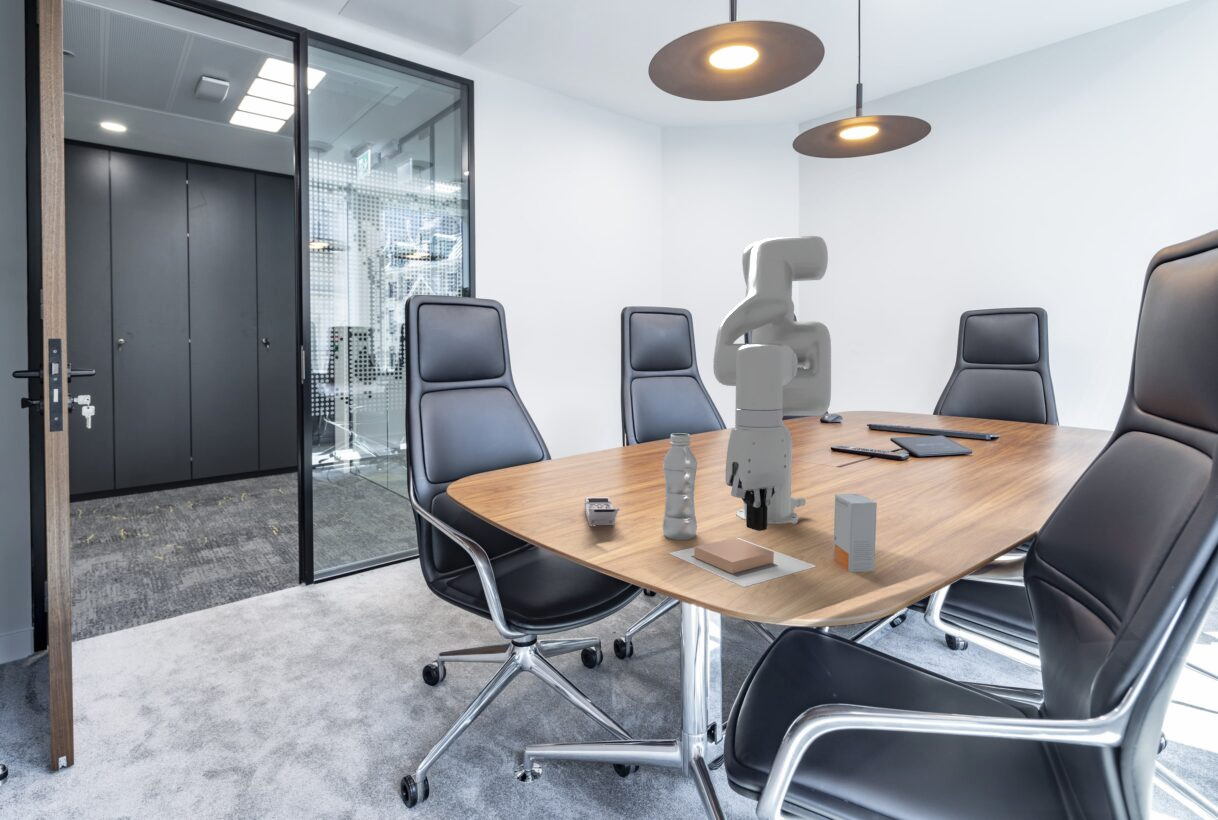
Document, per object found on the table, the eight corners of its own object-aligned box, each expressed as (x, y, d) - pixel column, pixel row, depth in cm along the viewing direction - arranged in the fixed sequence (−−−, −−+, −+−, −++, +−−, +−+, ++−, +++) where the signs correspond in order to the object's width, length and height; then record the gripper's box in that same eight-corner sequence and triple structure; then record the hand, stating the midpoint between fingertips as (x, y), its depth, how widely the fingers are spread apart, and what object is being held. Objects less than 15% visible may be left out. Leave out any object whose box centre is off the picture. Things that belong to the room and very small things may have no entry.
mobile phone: (589, 508, 117) (583, 480, 141) (588, 539, 117) (583, 505, 142) (620, 508, 117) (609, 480, 142) (620, 538, 118) (609, 505, 142)
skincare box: (831, 564, 102) (834, 493, 101) (856, 564, 102) (859, 493, 101) (849, 578, 96) (851, 502, 95) (875, 577, 96) (878, 502, 95)
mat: (737, 542, 114) (737, 537, 113) (816, 572, 98) (817, 565, 98) (668, 558, 105) (668, 552, 105) (743, 593, 90) (743, 586, 90)
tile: (734, 537, 107) (694, 546, 102) (773, 551, 99) (732, 562, 94) (734, 548, 107) (694, 558, 102) (773, 563, 99) (732, 574, 95)
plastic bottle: (700, 536, 117) (701, 432, 115) (693, 547, 111) (693, 437, 109) (667, 533, 119) (667, 431, 118) (658, 544, 113) (658, 436, 111)
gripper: (773, 415, 108) (771, 517, 110) (708, 420, 100) (707, 530, 102) (807, 418, 102) (804, 527, 104) (741, 424, 94) (739, 541, 96)
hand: (756, 528), depth 103 cm, fingers closed
